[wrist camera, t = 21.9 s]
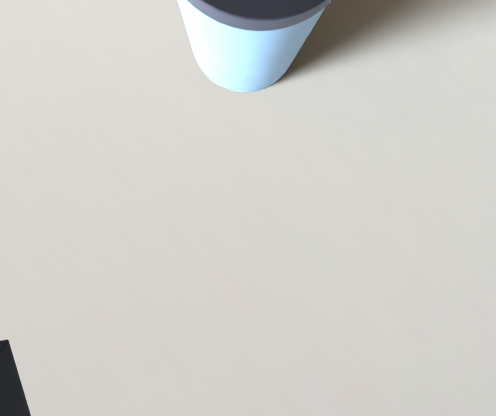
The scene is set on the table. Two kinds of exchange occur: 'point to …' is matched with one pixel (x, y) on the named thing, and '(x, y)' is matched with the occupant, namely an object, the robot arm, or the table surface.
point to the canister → (248, 38)
